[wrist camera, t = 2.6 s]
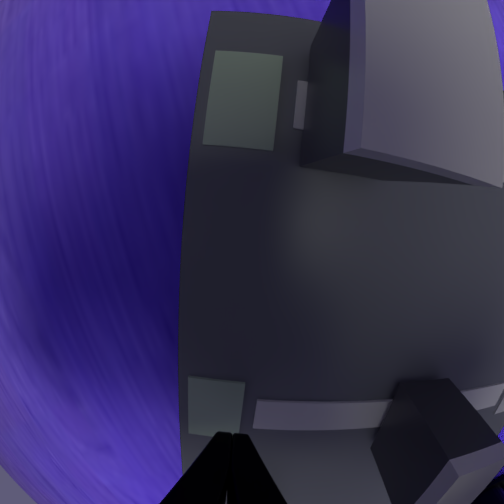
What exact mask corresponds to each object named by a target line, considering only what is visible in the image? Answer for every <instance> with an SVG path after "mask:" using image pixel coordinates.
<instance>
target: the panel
mask: <svg viewBox="0 0 504 504" xmlns="http://www.w3.org/2000/svg"><path fill="white" fill-rule="evenodd" d="M320 24H321V22H319V21H313V20H308V19H301V18H295V17H288V16H280V15H272V14H262V13H250V12H233V11H211V16H210V21H209V26H208V32H207V37H206V42H205V48H204V53H203V59H202V65H201V71H200V78H199V84H198V91H197V97H196V104H195V112H194V119H193V127H192V135H191V143H190V152H189V161H188V171H187V181H186V192H185V204H184V216H183V230H182V246H181V264H180V287H179V324H178V383H179V418H180V440H181V457H182V471H183V474H184V473H185V472H186V471H187V469H188V468H189V467H190V466H191V464H192V463H193V462H194V461H195V459H196V458H197V457H198V455H199V454H200V453H201V452H202V450H203V449H204V448H205V446H206V445H207V444H208V442H209V441H210V440H211V438H212V437H213V436H214V434H215V433H216V432H218V431H222V432H230V433H232V436H233V434H234V433H243V434H248V435H249V436H250V438H251V440H252V442H253V444H254V446H255V447H256V449H257V451H258V453H259V455H260V457H261V458H262V460H263V462H264V464H265V466H266V467H267V469H268V471H269V473H270V475H271V476H272V478H273V480H274V482H275V483H276V485H277V487H278V488H279V490H280V492H281V494H282V495H283V497H284V499H285V500H286V502H287V504H391V502H390V499H389V496H388V493H387V491H386V488H385V485H384V483H383V480H382V478H381V475H380V472H379V470H378V467H377V464H376V462H375V459H374V457H373V454H372V452H371V449H370V447H371V445H372V443H373V441H374V439H375V437H376V435H377V433H378V431H379V429H380V427H381V425H382V423H383V421H384V419H385V416H386V414H387V412H388V410H389V408H390V405H391V403H392V401H393V398H394V396H395V394H396V391H397V389H398V386H399V384H400V382H413V381H425V380H435V379H444V378H449V379H450V380H451V381H452V382H453V383H454V385H455V386H456V387H457V388H458V389H459V390H460V392H461V393H462V394H463V395H464V396H465V397H466V399H467V400H468V401H469V402H470V403H471V404H472V406H473V407H474V408H475V409H476V410H477V412H478V413H479V414H480V415H481V416H482V418H483V419H484V420H485V421H486V423H487V424H488V425H489V426H490V428H491V429H492V430H493V431H494V433H495V434H496V435H497V436H498V434H499V433H500V431H501V430H502V428H503V426H504V174H503V187H502V188H494V187H484V186H472V185H460V184H445V183H428V182H406V181H381V180H376V179H371V178H366V177H360V176H355V175H349V174H343V173H337V172H331V171H325V170H318V169H312V168H305V167H299V166H300V157H301V148H302V138H303V128H304V118H305V107H306V97H307V85H308V73H309V61H310V47H311V44H312V42H313V40H314V38H315V35H316V33H317V31H318V29H319V26H320ZM503 98H504V91H503ZM225 504H227V496H226V503H225Z"/></svg>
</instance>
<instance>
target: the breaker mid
mask: <svg viewBox="0 0 504 504" xmlns="http://www.w3.org/2000/svg"><path fill="white" fill-rule="evenodd" d="M370 449H371V452H372V454H373V457H374V459H375V462H376V464H377V467H378V470H379V472H380V475H381V478H382V480H383V483H384V485H385V488H386V491H387V493H388V496H389V499H390V502H391V504H471V503H472V502H473V501H474V500H475V498H476V497H477V496H478V495H479V494H480V493H481V492H482V491H483V490H484V489H485V488H486V486H487V485H488V484H489V483H490V482H491V481H492V479H493V478H494V477H495V476H496V475H497V473H498V472H499V471H500V470H501V468H502V467H503V466H504V444H503V443H502V441H501V440H500V439H499V438H498V436H497V435H496V434H495V433H494V431H493V430H492V429H491V428H490V426H489V425H488V424H487V423H486V421H485V420H484V419H483V418H482V416H481V415H480V414H479V413H478V412H477V410H476V409H475V408H474V407H473V406H472V404H471V403H470V402H469V401H468V400H467V399H466V397H465V396H464V395H463V394H462V393H461V392H460V390H459V389H458V388H457V387H456V386H455V385H454V383H453V382H452V381H451V380H450V379H449V378H444V379H435V380H425V381H413V382H400V384H399V386H398V389H397V391H396V394H395V396H394V398H393V401H392V403H391V405H390V408H389V410H388V412H387V414H386V416H385V419H384V421H383V423H382V425H381V427H380V429H379V431H378V433H377V435H376V437H375V439H374V441H373V443H372V445H371V447H370Z"/></svg>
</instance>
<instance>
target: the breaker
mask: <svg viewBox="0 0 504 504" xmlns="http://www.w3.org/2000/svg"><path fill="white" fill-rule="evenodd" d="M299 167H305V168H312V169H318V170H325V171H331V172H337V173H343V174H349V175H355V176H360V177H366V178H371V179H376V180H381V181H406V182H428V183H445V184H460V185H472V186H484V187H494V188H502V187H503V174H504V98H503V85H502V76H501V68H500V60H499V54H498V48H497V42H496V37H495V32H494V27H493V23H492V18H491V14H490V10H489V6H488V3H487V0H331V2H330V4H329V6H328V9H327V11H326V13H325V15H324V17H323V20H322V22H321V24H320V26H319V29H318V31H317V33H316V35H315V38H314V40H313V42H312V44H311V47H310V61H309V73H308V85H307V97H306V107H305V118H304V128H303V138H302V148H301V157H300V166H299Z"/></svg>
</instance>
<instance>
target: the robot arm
mask: <svg viewBox="0 0 504 504" xmlns="http://www.w3.org/2000/svg"><path fill="white" fill-rule="evenodd" d="M226 496H227V504H287V502H286V500H285V499H284V497H283V495H282V494H281V492H280V490H279V488H278V487H277V485H276V483H275V482H274V480H273V478H272V476H271V475H270V473H269V471H268V469H267V467H266V466H265V464H264V462H263V460H262V458H261V457H260V455H259V453H258V451H257V449H256V447H255V446H254V444H253V442H252V440H251V438H250V436H249V435H248V434H243V433H234V434H233V436H232V433H230V432H222V431H218V432H216V433H215V434H214V436H213V437H212V438H211V440H210V441H209V442H208V444H207V445H206V446H205V448H204V449H203V450H202V452H201V453H200V454H199V455H198V457H197V458H196V459H195V461H194V462H193V463H192V464H191V466H190V467H189V468H188V469H187V471H186V472H185V473H184V474H183V476H182V477H181V478H180V479H179V481H178V482H177V483H176V484H175V486H174V487H173V488H172V489H171V490H170V492H169V493H168V494H167V495H166V496H165V498H164V499H163V500H162V501H161V502H160V503H159V504H225V503H226ZM471 504H504V476H502V477H500V478H498V479H496V480H494V481H491V482H490V483H489V484H488V485H487V486H486V488H485V489H484V490H483V491H482V492H481V493H480V494H479V495H478V496H477V497H476V498H475V500H474V501H473V502H472V503H471Z"/></svg>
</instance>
